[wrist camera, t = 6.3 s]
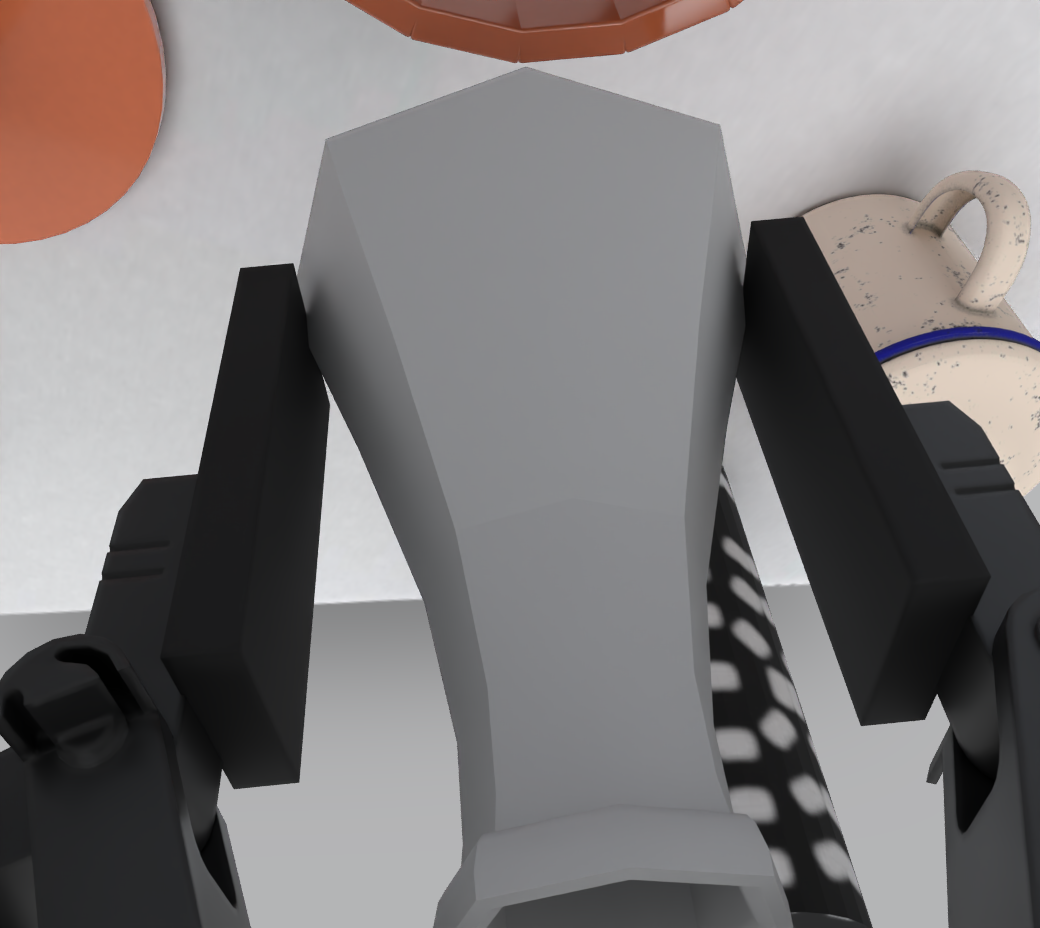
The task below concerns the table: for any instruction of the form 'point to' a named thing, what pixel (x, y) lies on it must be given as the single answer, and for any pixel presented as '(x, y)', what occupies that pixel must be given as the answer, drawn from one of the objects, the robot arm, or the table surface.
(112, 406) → the table surface
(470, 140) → the flask
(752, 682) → the white-spotted black cylinder
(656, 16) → the canister
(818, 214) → the teacup with lid
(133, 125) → the lid
